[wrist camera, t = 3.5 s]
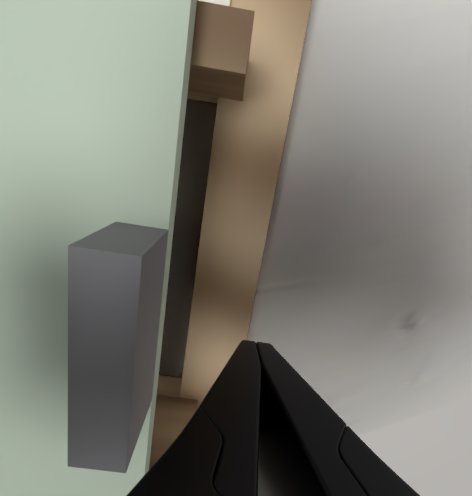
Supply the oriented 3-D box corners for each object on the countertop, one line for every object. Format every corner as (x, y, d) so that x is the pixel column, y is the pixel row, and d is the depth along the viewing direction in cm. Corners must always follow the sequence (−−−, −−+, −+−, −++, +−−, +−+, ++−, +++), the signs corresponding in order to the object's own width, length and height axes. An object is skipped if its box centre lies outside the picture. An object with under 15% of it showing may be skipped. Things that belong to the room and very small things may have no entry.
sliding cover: (144, 508, 13) (114, 623, 10) (-24, 489, 12) (-112, 601, 9) (199, -28, 8) (172, -165, 4) (-89, -82, 7) (-342, -272, 4)
